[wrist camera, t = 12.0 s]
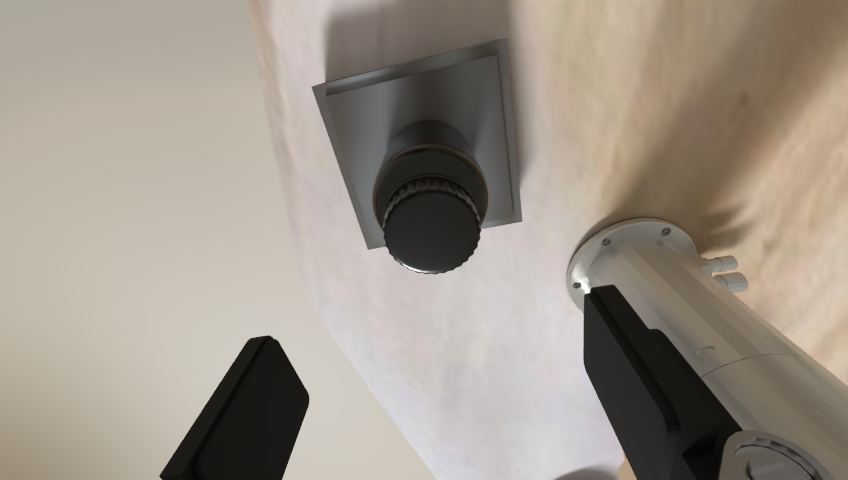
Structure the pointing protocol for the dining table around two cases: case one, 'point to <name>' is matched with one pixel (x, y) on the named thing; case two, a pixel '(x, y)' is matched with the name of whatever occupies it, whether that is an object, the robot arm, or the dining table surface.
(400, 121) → the grey square block
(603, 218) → the dining table surface
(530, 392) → the dining table surface
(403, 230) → the supplement bottle
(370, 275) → the dining table surface
